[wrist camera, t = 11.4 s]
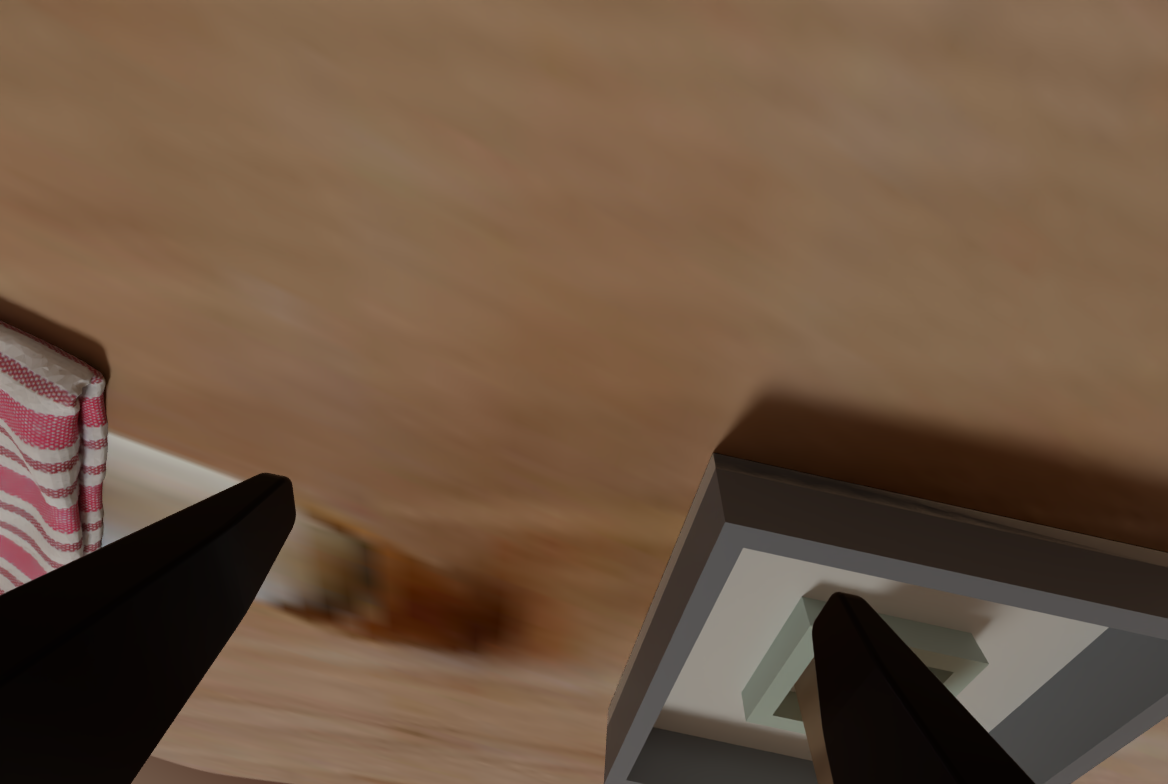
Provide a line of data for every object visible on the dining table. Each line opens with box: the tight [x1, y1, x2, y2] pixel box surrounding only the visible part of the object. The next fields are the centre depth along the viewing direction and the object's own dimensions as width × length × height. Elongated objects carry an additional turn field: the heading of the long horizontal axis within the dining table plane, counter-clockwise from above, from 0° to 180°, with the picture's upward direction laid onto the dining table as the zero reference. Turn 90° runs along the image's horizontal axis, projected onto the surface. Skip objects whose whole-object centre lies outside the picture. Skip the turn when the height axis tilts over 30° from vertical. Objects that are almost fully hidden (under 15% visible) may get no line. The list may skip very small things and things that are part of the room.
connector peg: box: [794, 657, 833, 784], centre depth 23 cm, size 4×4×8 cm
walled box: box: [604, 453, 1168, 784], centre depth 26 cm, size 20×20×4 cm
